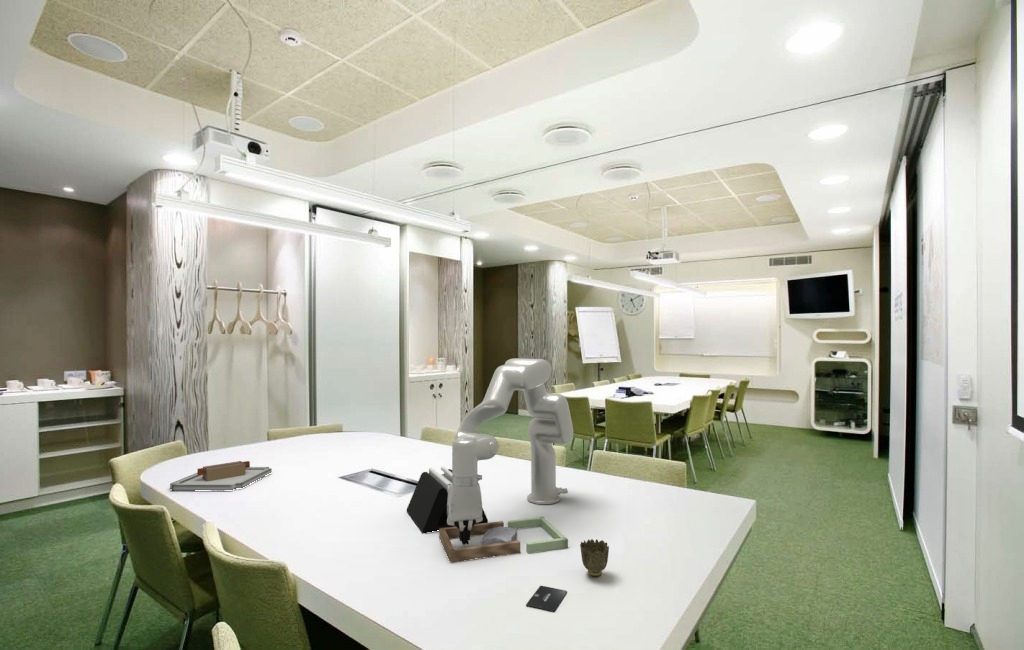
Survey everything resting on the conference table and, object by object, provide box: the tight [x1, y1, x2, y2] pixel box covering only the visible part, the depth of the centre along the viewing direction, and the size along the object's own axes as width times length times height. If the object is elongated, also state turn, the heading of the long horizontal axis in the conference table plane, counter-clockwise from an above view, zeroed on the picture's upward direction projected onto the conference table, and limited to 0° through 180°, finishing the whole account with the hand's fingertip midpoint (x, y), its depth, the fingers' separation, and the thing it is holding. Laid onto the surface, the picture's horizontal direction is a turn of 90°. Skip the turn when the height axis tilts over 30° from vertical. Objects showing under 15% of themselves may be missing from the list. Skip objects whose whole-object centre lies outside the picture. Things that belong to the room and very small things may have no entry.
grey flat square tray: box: [169, 460, 273, 492], centre depth 216 cm, size 30×30×8 cm
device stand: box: [406, 466, 489, 534], centre depth 171 cm, size 22×22×15 cm
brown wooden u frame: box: [438, 520, 521, 563], centre depth 146 cm, size 20×18×3 cm
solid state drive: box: [525, 585, 568, 613], centre depth 116 cm, size 7×10×1 cm
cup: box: [579, 538, 610, 579], centre depth 127 cm, size 8×7×8 cm
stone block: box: [480, 526, 518, 545], centre depth 148 cm, size 12×5×10 cm
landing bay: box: [507, 516, 569, 554], centre depth 152 cm, size 12×20×2 cm, turn 18°
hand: (464, 542), depth 145 cm, fingers closed
